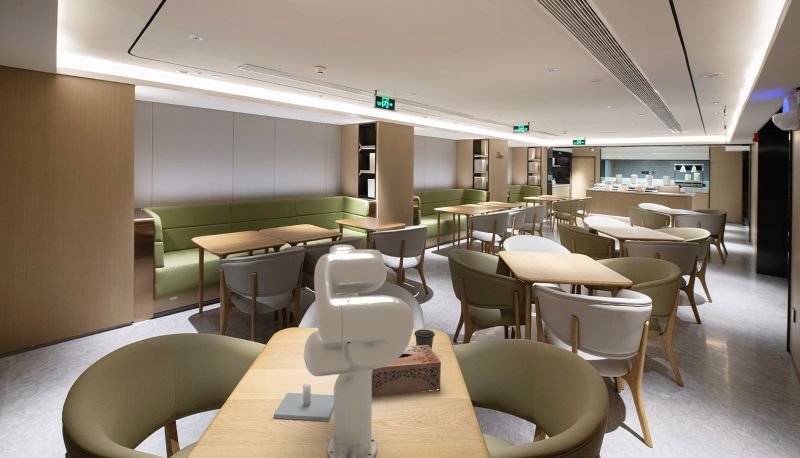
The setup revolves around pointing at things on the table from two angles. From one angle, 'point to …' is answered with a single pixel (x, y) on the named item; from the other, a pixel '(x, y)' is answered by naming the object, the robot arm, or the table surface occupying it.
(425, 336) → the coffee cup
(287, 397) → the post board
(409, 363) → the tissue box cover
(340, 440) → the robot arm
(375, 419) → the table surface
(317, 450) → the table surface
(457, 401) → the table surface
